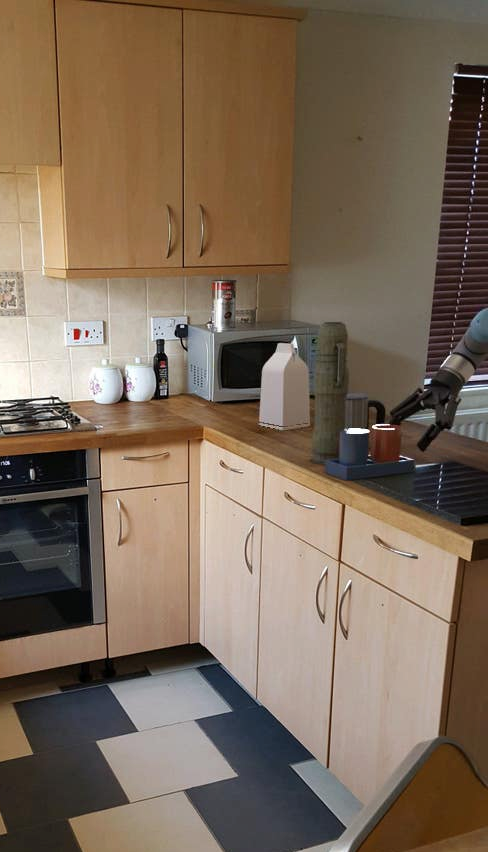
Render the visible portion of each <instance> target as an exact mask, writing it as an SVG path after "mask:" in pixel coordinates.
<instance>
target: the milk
mask: <svg viewBox="0 0 488 852" xmlns="http://www.w3.org/2000/svg"><path fill="white" fill-rule="evenodd" d="M259 401H260V402H259V415H258V426H259V425H261V426H260V427H262V426H265V427H264V428H267V427H270V428H269V429H273V428H275V429H274V430H278V429H279V431H287V430H288V431H289V430H294V429H295V430H296V429H302V428H308V426H309V427H311V409H310V408H311V406H310V405H311V404H310V371H309V366H308V365H307V363H306V362H304V360H303V359H302V358H301V357H300V356H299V355H298V353H296V348H295V346H294V343H285V342H279V343H277V346H276V349H275V352H274V353H273V354H272V356H271V357H270V358H269V359H268V360H267V361H266V362H265V363H264V365H263V367H262V369H261V383H260V400H259ZM259 421H260V422H264V423H269V424H274V425H279V426H288V427H279V426H273V425H268V424H263V423H259ZM303 423H308V424H303ZM296 424H301V425H296ZM289 425H294V426H289ZM301 427H302V428H301Z"/></svg>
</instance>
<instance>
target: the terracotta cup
mask: <svg viewBox="0 0 488 852" xmlns="http://www.w3.org/2000/svg"><path fill="white" fill-rule="evenodd" d="M402 434H403V426H402V425H400V426H398V425H387V424H384V425H376V424H375V425H372V426H371V436H370V437H371V441H370V455H371V458H370V460H373V461H376V462H379V463H384V462H393V461H400V456H401V451H402Z"/></svg>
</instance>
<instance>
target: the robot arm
mask: <svg viewBox="0 0 488 852" xmlns="http://www.w3.org/2000/svg"><path fill="white" fill-rule="evenodd" d="M487 357H488V307H486V308H483V309H481V310H480V311H479V312H478V313H477V314H476V315H475V316H474V317H473V319H472V320H471V322H470V324H469V326H468V328H467V330H466V332H465V333H464V335H463V336H462V338H461V339H460V341H459V342H458V343H457V345H456V346H455V348H454V349H453V351H452V352H451V353H450V355H448V356H447V358H446V359H445V360H444V361H443V363H442V364H441V366H440V367H439V369H438V370H437V371H436V372H435V374H434V375H433V376H432V377H431V378H430V381H429V386H428V388H427V389H426V390H424V389H422V387H417V388H416V390H414V392H413V393H412V394H410V395H408V397H407V398H405V399H404V400H403V401H402V402H399V404H398V405H396V406H395V407H394V408H392V409H391V410H390V411H389V416H390V417H391V418H390V420H389V421H388V423H387V424H386V425H398V426H402V422H403V421H405V420H406V419H409V418H410V417H411V416H413V415H415V414H417V413H419V412H421V411H425V410H433V411H434V413H435V415H434V418H435V419H434V420H435V421H433V423H431V424H430V425H429V427H428V428H427V430H426V431H425V432H424V434H423V435H422V436H421V438H420V439H419V440H418V441H417V442H416V444H415V445H416V447H417V448H418V449H419V451H421V452H422V453H425V451H426V450H427V449H428V447H429V446H431V443H433V441H434V440H436V439H437V438H438V436H439V435H440V433H441V432H443V431H445V430H448V431H451V430H452V428H453V425H454V422H455V417H456V414H457V411H458V406H459V405H460V404H461V402H462V398H461V397H460V396H459V395H460V393H461V391H462V390H463V389H464V386H466V384H467V383H468V382H469V380H470V379H471V377H473V375H474V374H475V372H476V371H477V369H479V367H480V366H481V365H482V363H483V362H484V361H485V359H486V358H487Z"/></svg>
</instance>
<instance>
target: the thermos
mask: <svg viewBox="0 0 488 852" xmlns="http://www.w3.org/2000/svg"><path fill="white" fill-rule="evenodd" d="M316 339H317V340H316V355H317V359H316V365H315V368H314V372H313V395H314V430H313V433H312V436H311V452H312V458H311V462H313V463H315V464H320V465H325V460H333V459H339V438H340V430H343V429H345V421H346V396H347V394H349V387H350V383H349V382H350V370H349V366H348V360H347V358H348V357H347V355H348V350H349V347H348V346H349V333H348V329H347V325H346V323H344V322H343V321H327V322H326V321H324V322H323V323H321V324H320V326H319V329H318V332H317V335H316Z"/></svg>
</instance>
